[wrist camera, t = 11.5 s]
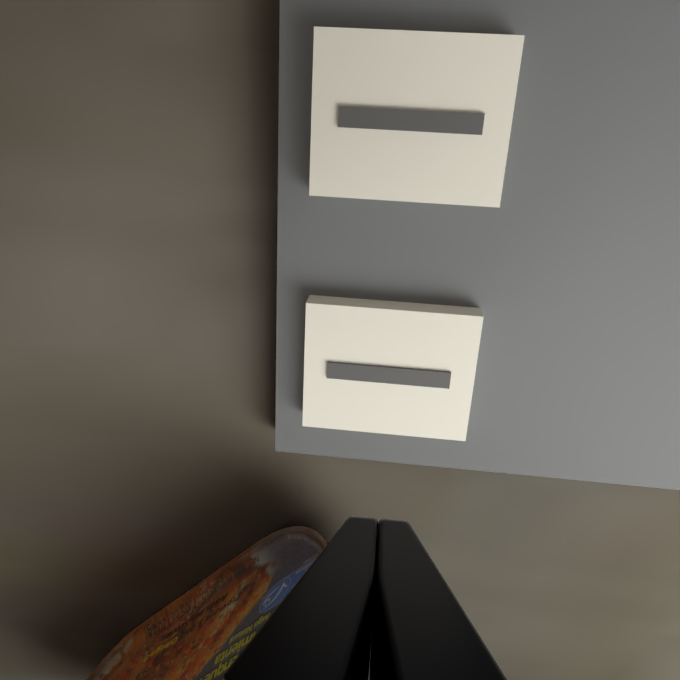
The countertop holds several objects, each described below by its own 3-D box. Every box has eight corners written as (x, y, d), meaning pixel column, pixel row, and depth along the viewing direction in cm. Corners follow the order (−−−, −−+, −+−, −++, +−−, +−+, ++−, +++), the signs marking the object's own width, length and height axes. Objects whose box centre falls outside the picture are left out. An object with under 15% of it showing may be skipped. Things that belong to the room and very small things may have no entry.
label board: (281, 432, 21) (245, 530, 16) (291, -249, 14) (234, -441, 9) (695, 471, 20) (791, 588, 15) (922, -244, 13) (1234, -458, 8)
